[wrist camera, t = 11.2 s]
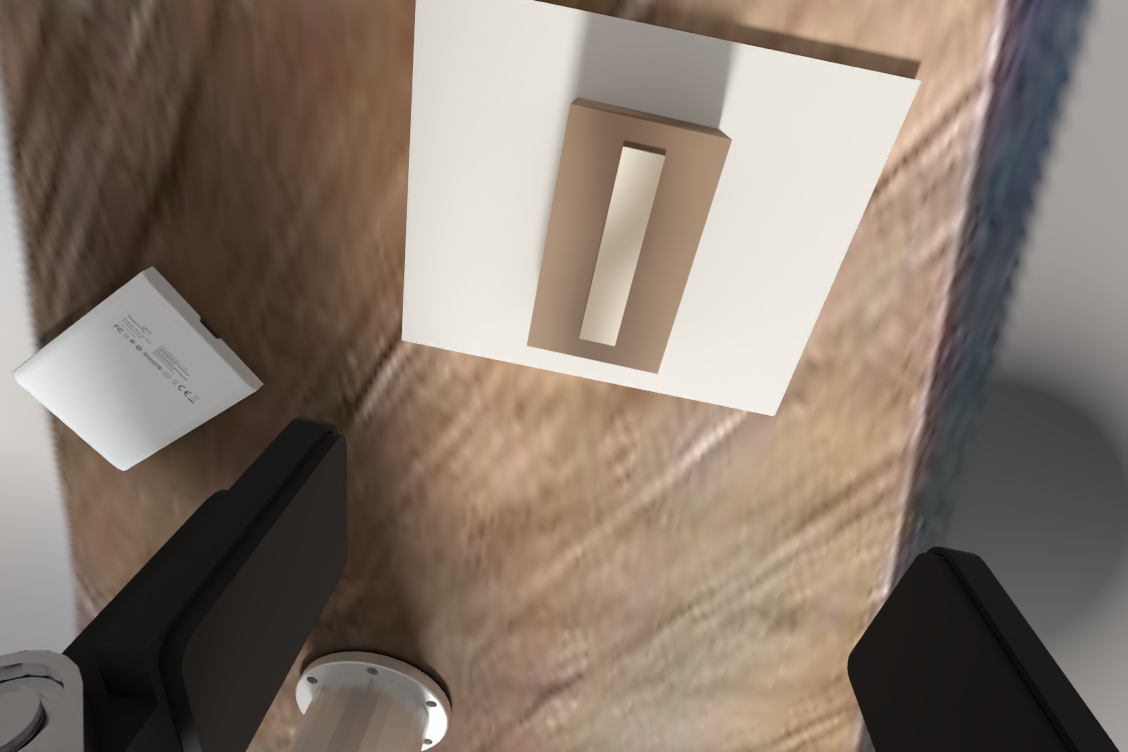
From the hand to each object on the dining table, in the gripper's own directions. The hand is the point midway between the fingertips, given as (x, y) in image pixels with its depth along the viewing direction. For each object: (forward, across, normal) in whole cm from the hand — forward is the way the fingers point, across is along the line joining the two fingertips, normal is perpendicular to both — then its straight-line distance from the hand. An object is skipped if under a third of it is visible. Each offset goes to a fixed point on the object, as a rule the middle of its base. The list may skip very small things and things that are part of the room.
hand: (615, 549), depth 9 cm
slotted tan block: (+19, 0, 0) cm, 19 cm away
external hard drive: (+21, +25, +14) cm, 36 cm away
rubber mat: (+20, 0, 0) cm, 20 cm away
